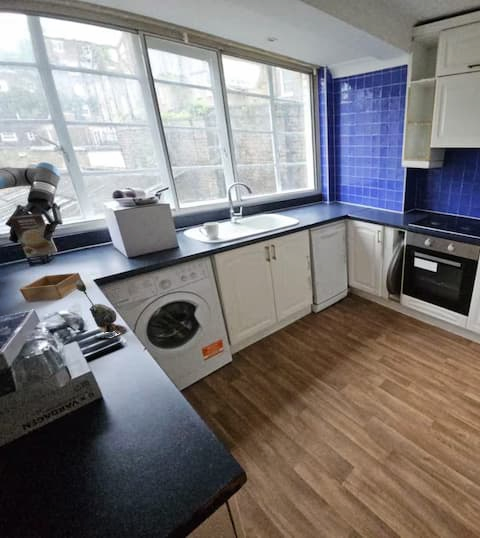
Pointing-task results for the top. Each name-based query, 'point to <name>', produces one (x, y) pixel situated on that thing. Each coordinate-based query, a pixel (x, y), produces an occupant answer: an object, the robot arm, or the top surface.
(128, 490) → the top surface
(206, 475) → the top surface
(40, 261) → the holder
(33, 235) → the coffee box
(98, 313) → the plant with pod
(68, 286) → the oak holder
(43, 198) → the robot arm
